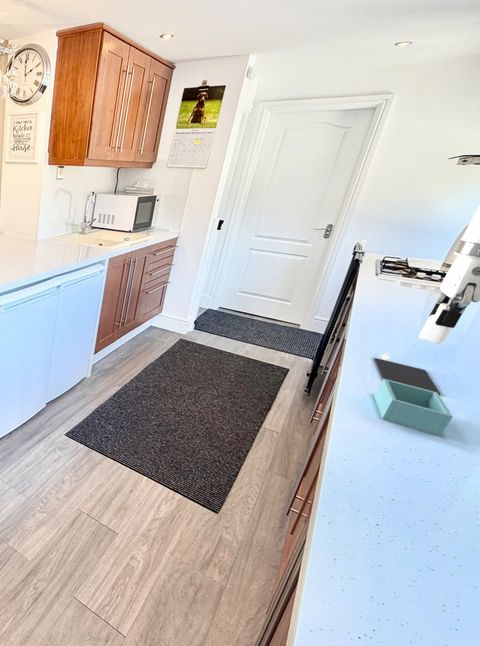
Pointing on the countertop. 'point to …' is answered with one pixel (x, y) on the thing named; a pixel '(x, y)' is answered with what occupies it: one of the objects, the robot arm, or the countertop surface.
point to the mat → (405, 375)
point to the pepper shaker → (435, 328)
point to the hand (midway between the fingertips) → (441, 322)
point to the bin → (412, 407)
